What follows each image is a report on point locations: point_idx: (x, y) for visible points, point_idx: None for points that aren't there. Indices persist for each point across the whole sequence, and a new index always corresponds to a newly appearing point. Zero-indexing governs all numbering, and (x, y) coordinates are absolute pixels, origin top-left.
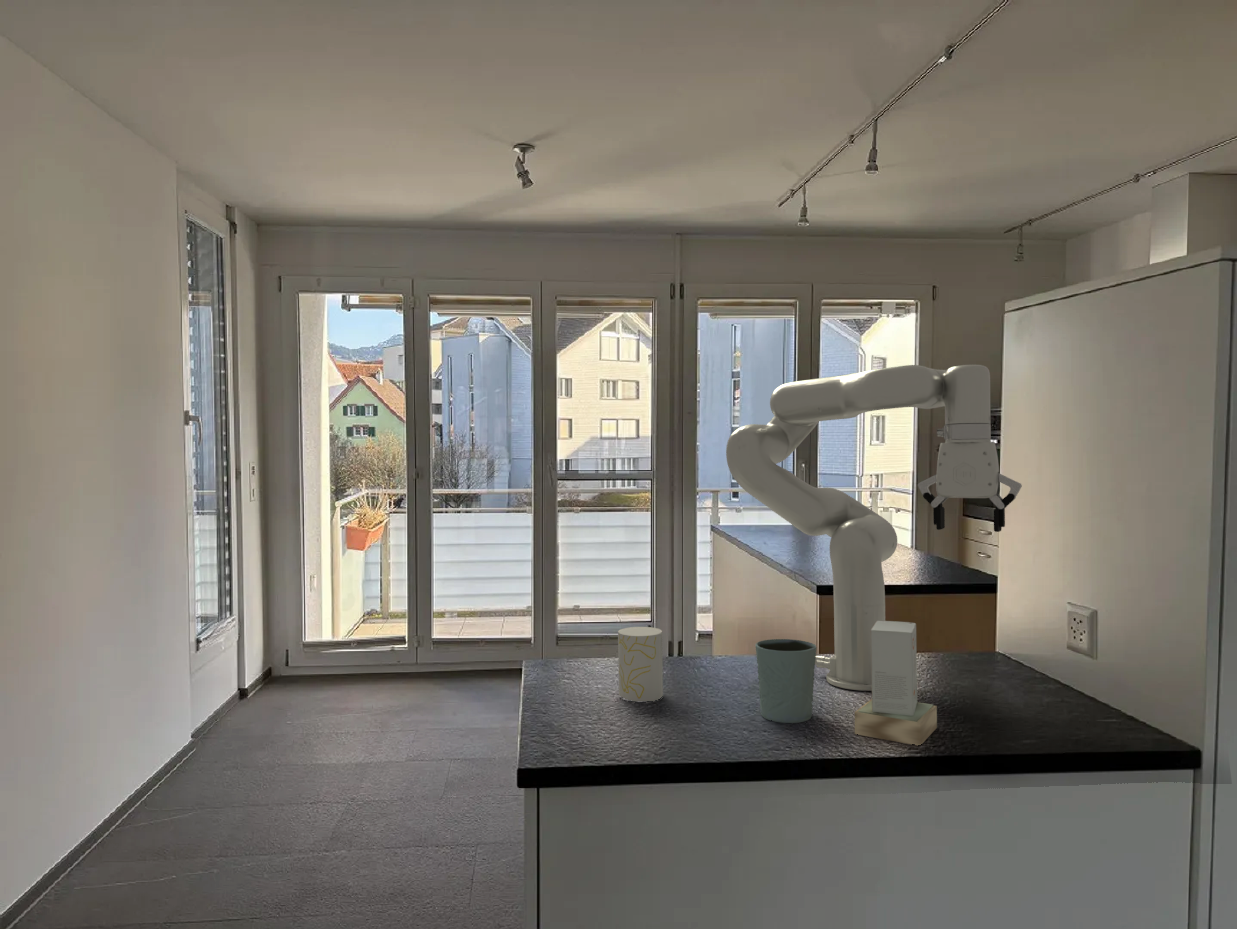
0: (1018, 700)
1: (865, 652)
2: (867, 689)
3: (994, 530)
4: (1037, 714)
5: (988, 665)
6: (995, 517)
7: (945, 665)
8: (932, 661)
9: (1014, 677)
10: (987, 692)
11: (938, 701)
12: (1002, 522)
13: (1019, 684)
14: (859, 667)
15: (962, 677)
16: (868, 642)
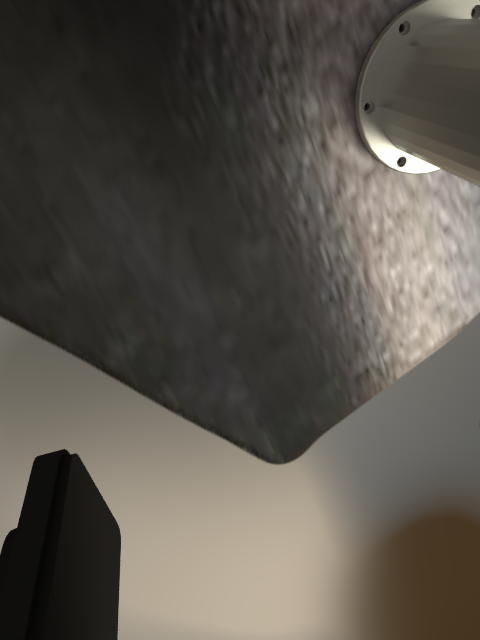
0: (108, 213)
1: (454, 40)
2: (394, 19)
3: (70, 456)
4: (21, 135)
5: (262, 393)
6: (32, 568)
7: (323, 343)
8: (352, 351)
9: (193, 356)
10: (182, 225)
11: (229, 71)
12: (6, 556)
13: (164, 321)
14: (444, 28)
15: (266, 291)
16: (464, 47)
